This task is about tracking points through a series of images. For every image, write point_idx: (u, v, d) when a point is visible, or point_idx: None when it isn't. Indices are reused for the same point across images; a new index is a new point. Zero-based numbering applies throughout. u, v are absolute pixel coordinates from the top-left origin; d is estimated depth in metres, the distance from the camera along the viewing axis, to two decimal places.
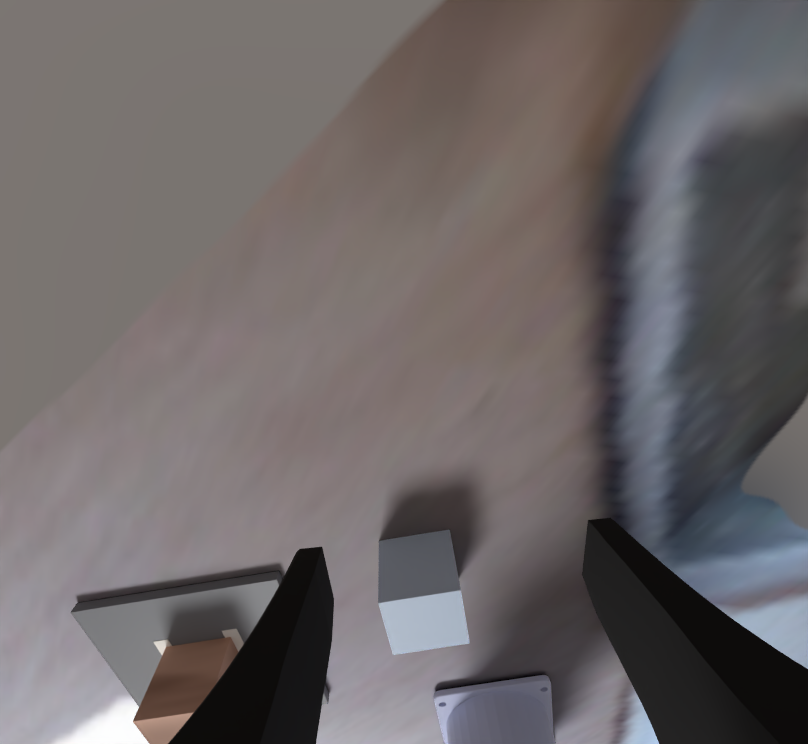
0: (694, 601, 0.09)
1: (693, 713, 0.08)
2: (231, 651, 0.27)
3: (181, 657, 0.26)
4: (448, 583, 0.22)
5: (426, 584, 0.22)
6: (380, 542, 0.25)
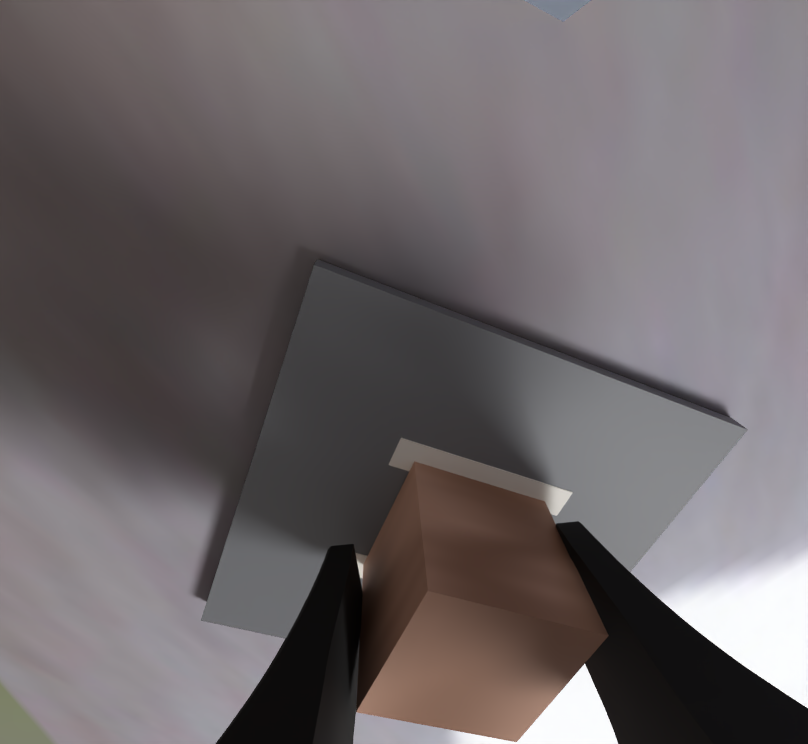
0: (651, 605, 0.09)
1: (647, 718, 0.08)
2: (439, 479, 0.12)
3: (378, 556, 0.12)
4: None
5: None
6: None
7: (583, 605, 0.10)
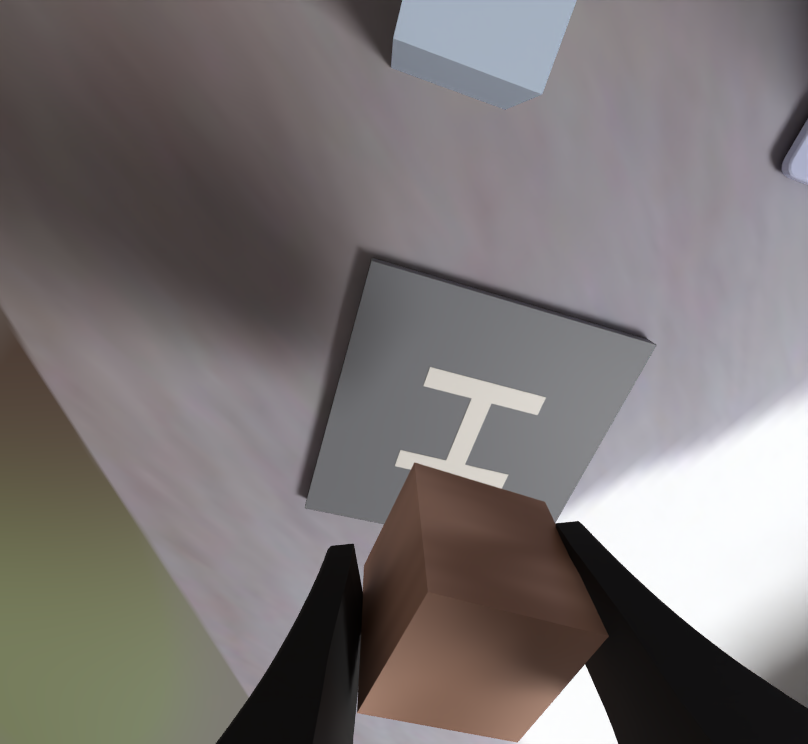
0: (651, 605, 0.09)
1: (646, 718, 0.08)
2: (439, 479, 0.12)
3: (378, 557, 0.12)
4: None
5: None
6: None
7: (583, 606, 0.10)
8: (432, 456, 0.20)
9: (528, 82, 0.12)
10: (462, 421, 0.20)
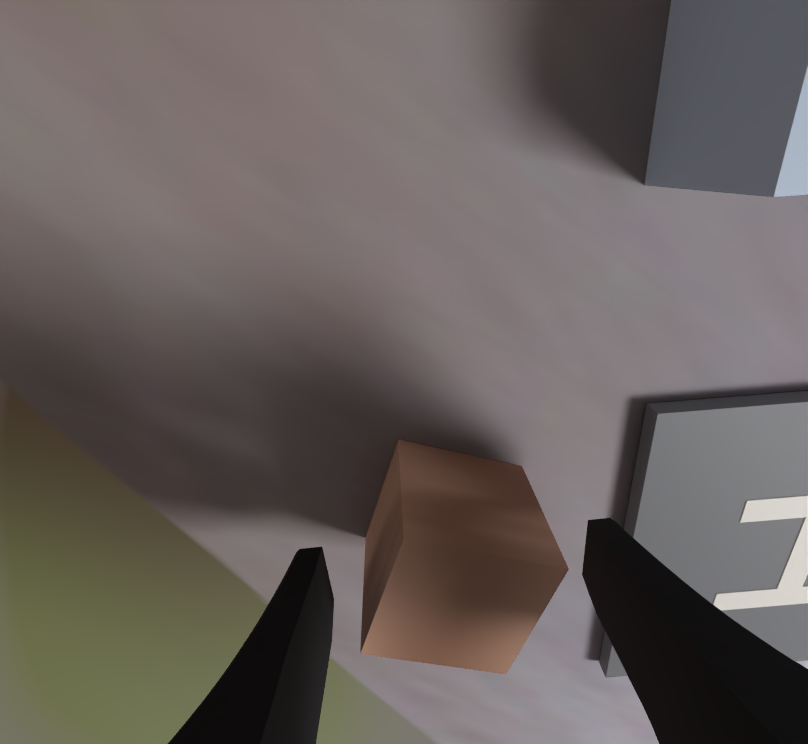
0: (694, 601, 0.09)
1: (693, 713, 0.08)
2: (420, 451, 0.13)
3: (375, 524, 0.14)
4: None
5: (785, 21, 0.07)
6: (648, 181, 0.11)
7: (548, 546, 0.11)
8: (758, 589, 0.16)
9: None
10: (795, 544, 0.15)
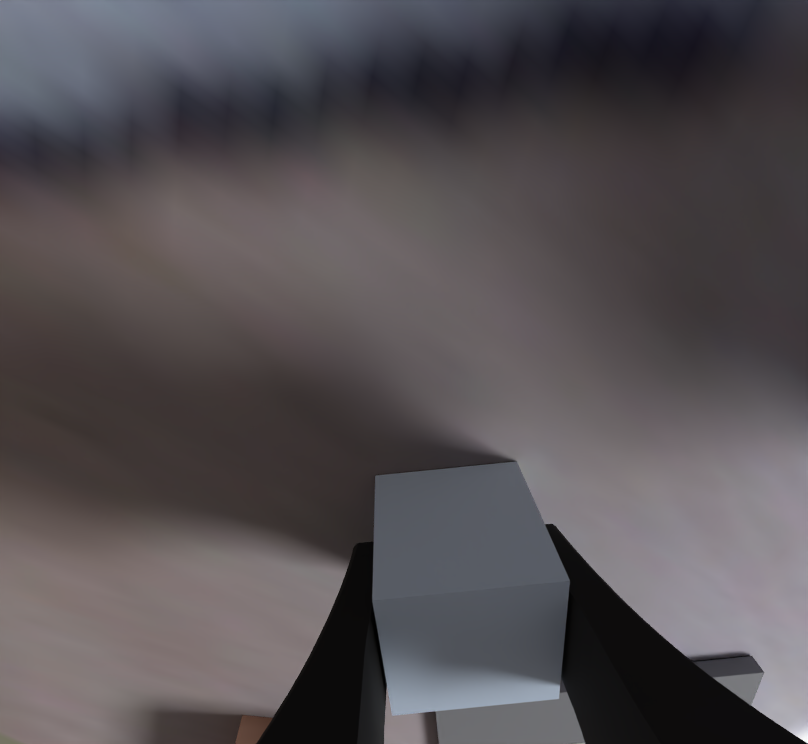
0: (617, 609, 0.09)
1: (609, 722, 0.08)
2: (257, 727, 0.17)
3: None
4: None
5: None
6: None
7: None
8: None
9: (540, 696, 0.11)
10: None
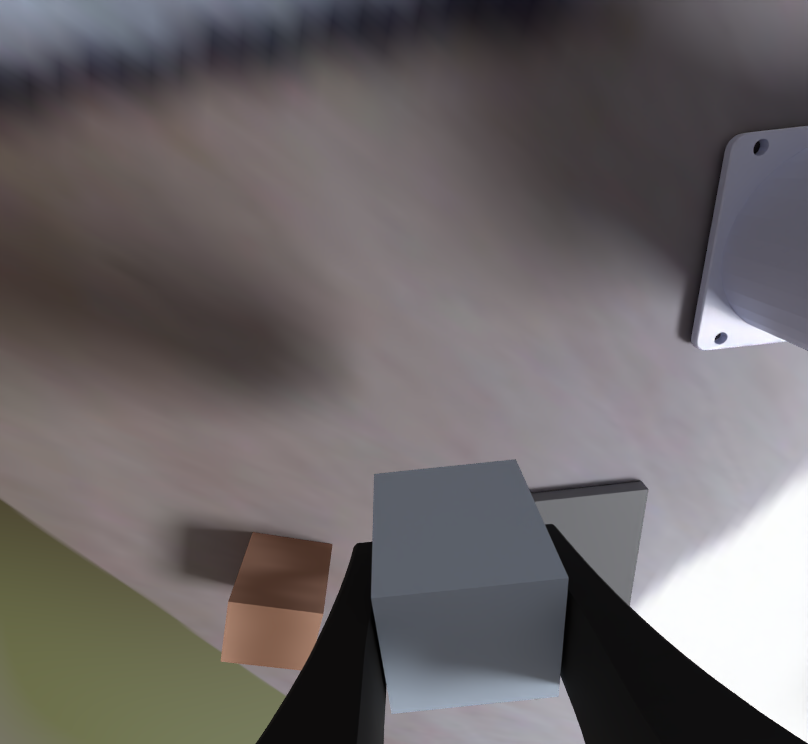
0: (617, 609, 0.09)
1: (609, 722, 0.08)
2: (264, 539, 0.22)
3: None
4: None
5: None
6: None
7: (318, 600, 0.20)
8: None
9: (540, 694, 0.11)
10: None
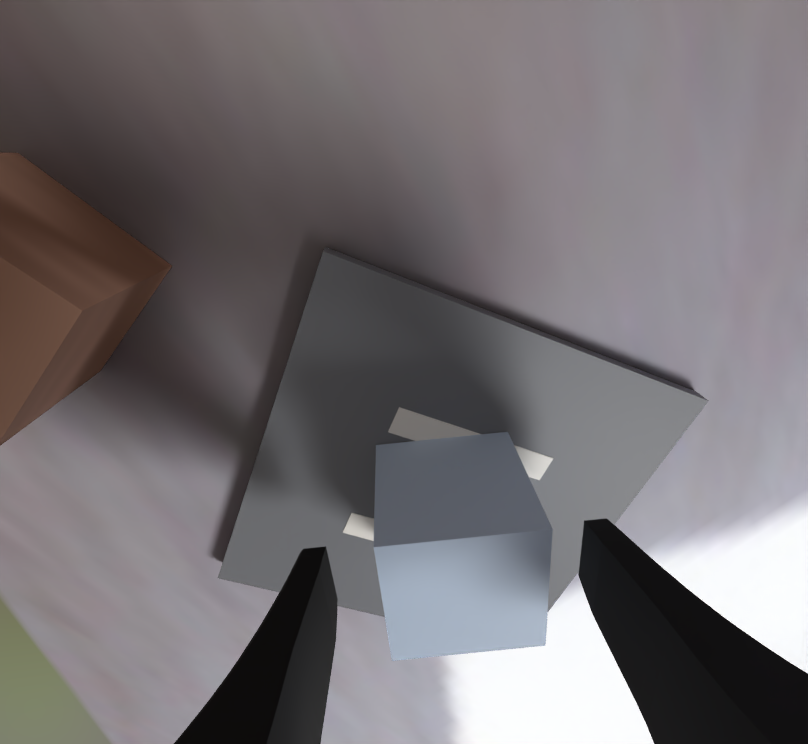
0: (689, 602, 0.09)
1: (688, 714, 0.08)
2: (35, 173, 0.10)
3: None
4: None
5: None
6: None
7: (86, 290, 0.09)
8: None
9: (528, 643, 0.12)
10: None
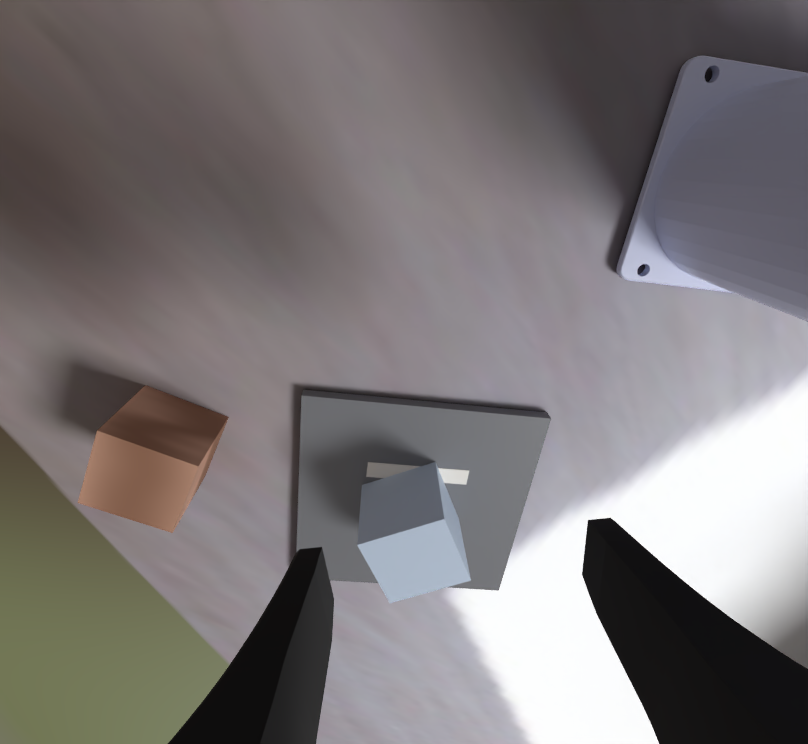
0: (694, 601, 0.09)
1: (693, 713, 0.08)
2: (155, 394, 0.21)
3: None
4: None
5: None
6: None
7: (196, 454, 0.19)
8: None
9: (460, 580, 0.21)
10: None
